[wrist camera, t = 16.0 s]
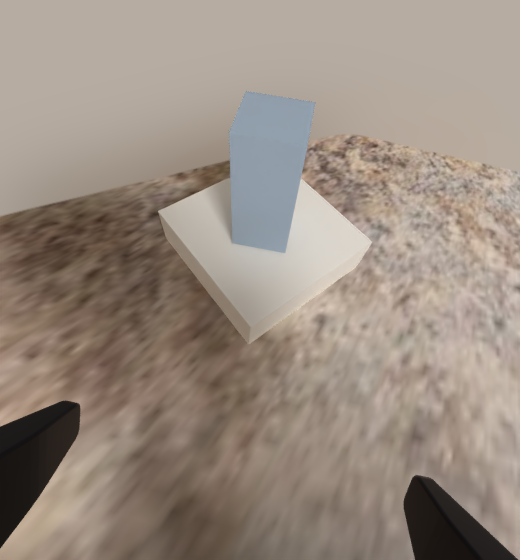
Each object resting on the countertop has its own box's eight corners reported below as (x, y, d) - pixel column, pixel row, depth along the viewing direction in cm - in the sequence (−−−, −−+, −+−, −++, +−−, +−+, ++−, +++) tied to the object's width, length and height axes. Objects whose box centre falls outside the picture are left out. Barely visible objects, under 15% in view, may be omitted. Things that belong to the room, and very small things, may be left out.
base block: (355, 268, 28) (372, 241, 25) (248, 346, 24) (250, 327, 20) (270, 188, 32) (275, 155, 29) (167, 241, 28) (157, 211, 25)
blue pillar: (292, 214, 25) (315, 102, 18) (285, 253, 23) (307, 145, 16) (244, 205, 26) (245, 91, 18) (232, 243, 24) (229, 132, 16)
